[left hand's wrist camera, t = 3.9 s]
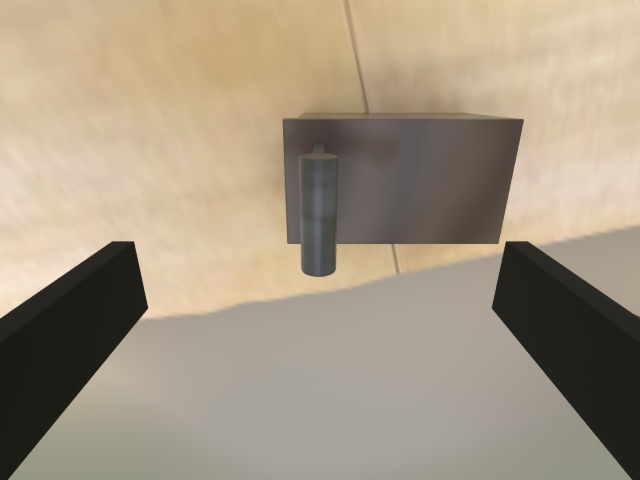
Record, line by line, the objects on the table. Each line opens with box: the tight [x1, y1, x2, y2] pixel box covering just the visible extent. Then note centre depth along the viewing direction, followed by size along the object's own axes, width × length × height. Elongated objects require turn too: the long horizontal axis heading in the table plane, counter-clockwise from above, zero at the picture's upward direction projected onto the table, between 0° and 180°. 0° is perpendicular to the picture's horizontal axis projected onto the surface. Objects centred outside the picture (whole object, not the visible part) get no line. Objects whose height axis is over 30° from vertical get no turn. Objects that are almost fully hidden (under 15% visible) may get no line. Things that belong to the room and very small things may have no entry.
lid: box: [283, 118, 524, 277], centre depth 22 cm, size 16×9×9 cm, turn 90°
